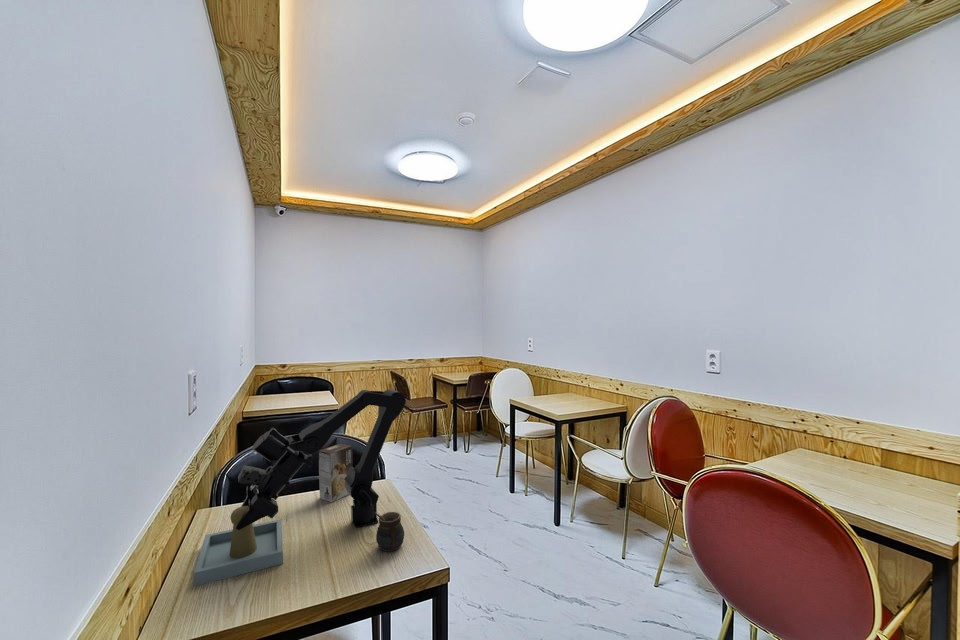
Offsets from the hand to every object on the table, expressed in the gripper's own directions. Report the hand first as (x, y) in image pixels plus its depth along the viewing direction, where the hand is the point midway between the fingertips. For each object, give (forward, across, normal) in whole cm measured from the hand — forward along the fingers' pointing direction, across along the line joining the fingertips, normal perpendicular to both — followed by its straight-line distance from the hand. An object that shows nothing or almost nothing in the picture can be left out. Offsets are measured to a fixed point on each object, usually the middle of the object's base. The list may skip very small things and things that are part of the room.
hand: (236, 524), depth 104 cm
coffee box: (-15, -22, +27) cm, 38 cm away
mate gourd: (-18, +17, +30) cm, 39 cm away
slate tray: (+5, 0, +7) cm, 8 cm away
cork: (+4, 0, +6) cm, 8 cm away
